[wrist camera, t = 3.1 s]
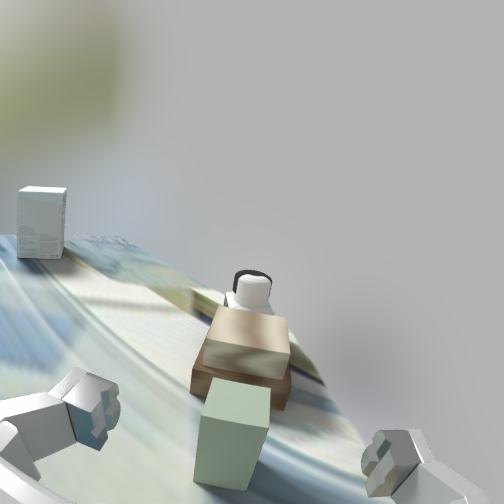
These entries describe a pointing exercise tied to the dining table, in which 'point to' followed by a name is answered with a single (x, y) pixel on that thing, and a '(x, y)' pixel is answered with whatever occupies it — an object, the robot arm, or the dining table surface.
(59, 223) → the supplement box
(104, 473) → the dining table surface
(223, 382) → the sage block
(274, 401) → the tower base
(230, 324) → the tower top
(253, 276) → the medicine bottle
